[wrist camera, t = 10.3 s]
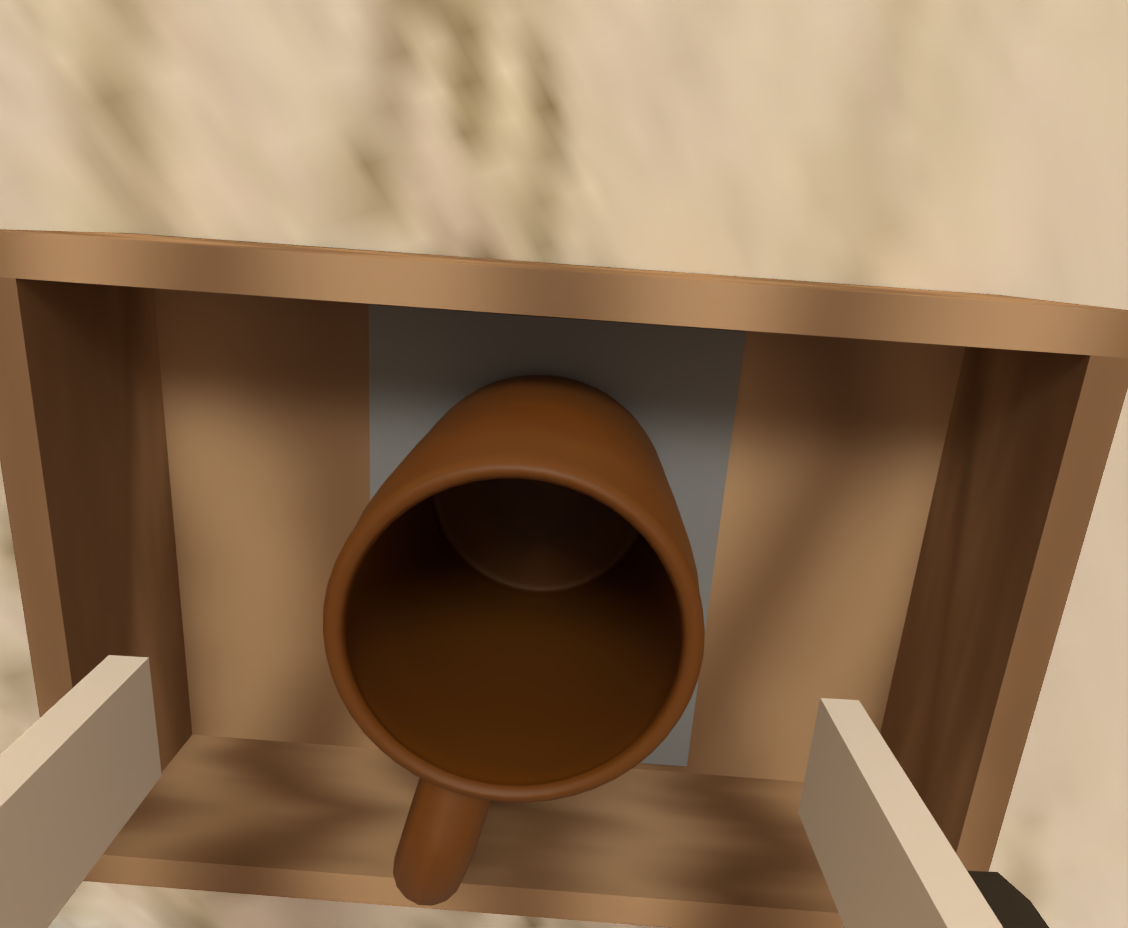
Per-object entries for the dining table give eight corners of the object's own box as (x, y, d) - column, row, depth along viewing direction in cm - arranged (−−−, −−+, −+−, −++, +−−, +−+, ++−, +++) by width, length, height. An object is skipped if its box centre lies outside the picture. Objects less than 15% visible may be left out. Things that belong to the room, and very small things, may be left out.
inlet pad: (374, 736, 26) (371, 741, 26) (371, 303, 22) (368, 304, 22) (685, 760, 26) (686, 766, 26) (744, 330, 22) (746, 331, 21)
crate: (175, 745, 27) (65, 879, 21) (126, 233, 22) (-36, 228, 16) (884, 800, 27) (965, 951, 21) (1001, 295, 22) (1149, 312, 16)
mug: (573, 737, 26) (565, 1006, 16) (360, 672, 25) (232, 912, 16) (700, 414, 22) (778, 530, 13) (458, 333, 22) (364, 395, 13)
